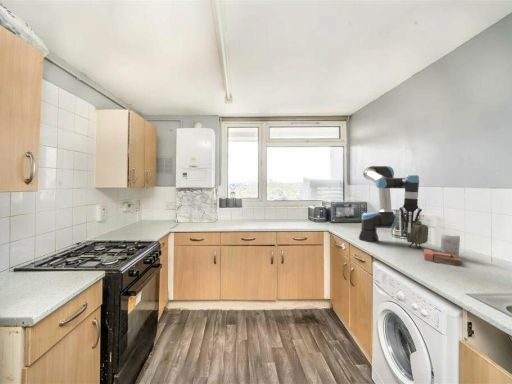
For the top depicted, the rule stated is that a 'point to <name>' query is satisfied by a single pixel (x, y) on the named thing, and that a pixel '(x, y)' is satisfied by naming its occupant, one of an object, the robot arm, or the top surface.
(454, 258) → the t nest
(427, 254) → the t block
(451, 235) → the supplement tub
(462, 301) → the top surface
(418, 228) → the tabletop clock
